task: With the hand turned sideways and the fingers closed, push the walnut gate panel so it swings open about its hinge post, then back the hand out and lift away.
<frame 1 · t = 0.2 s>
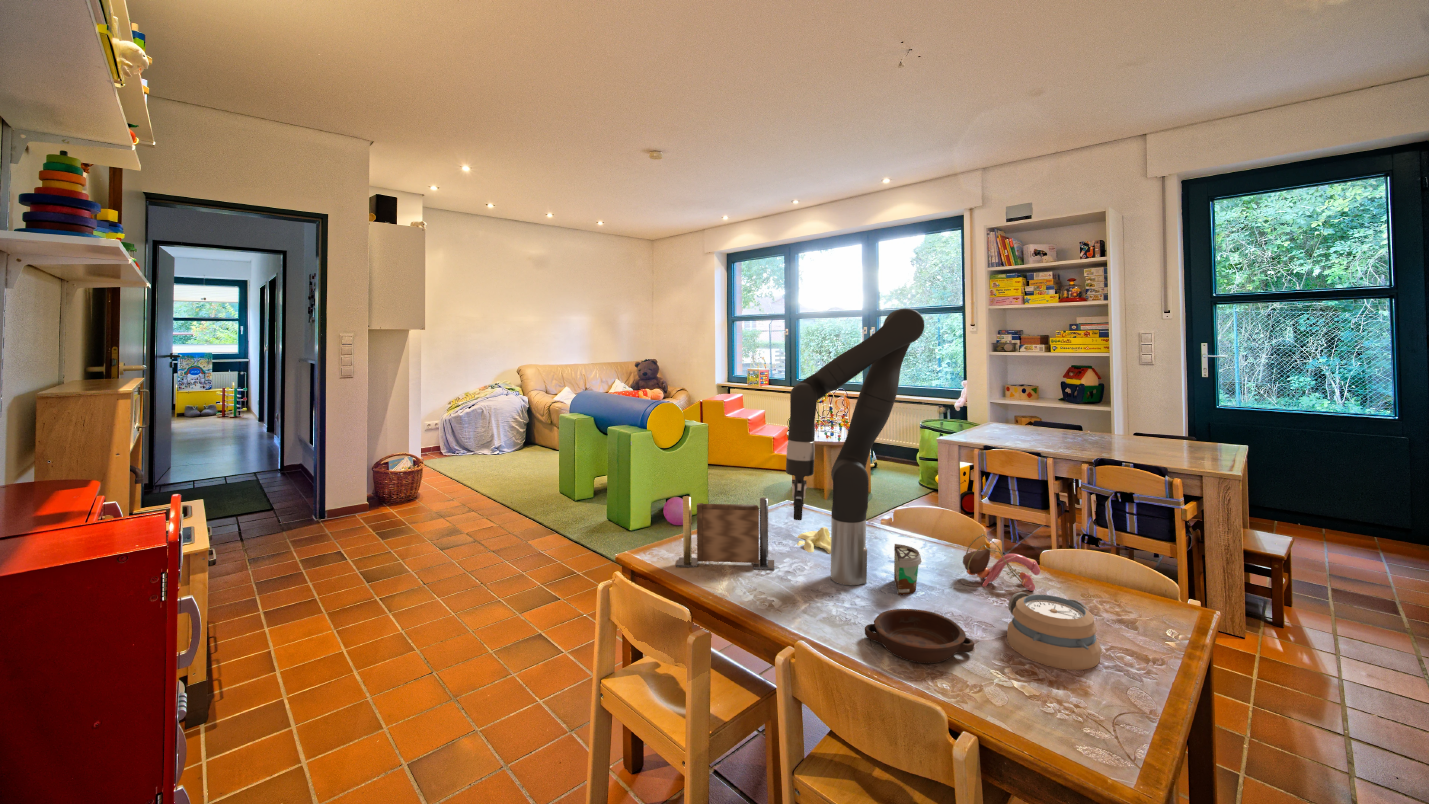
hand: (797, 515, 157), 18 cm above the table, tool pointing down, fingers open, 8 cm apart
cloth: (820, 546, 185), on the table
gate frame: (763, 565, 168), on the table
gate panel: (727, 532, 168), point 10 cm above the table, hinge at 0.0°
anatomy model: (999, 584, 154), on the table
alarm clock: (1049, 642, 125), on the table
dish: (917, 649, 123), on the table
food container: (908, 589, 152), on the table
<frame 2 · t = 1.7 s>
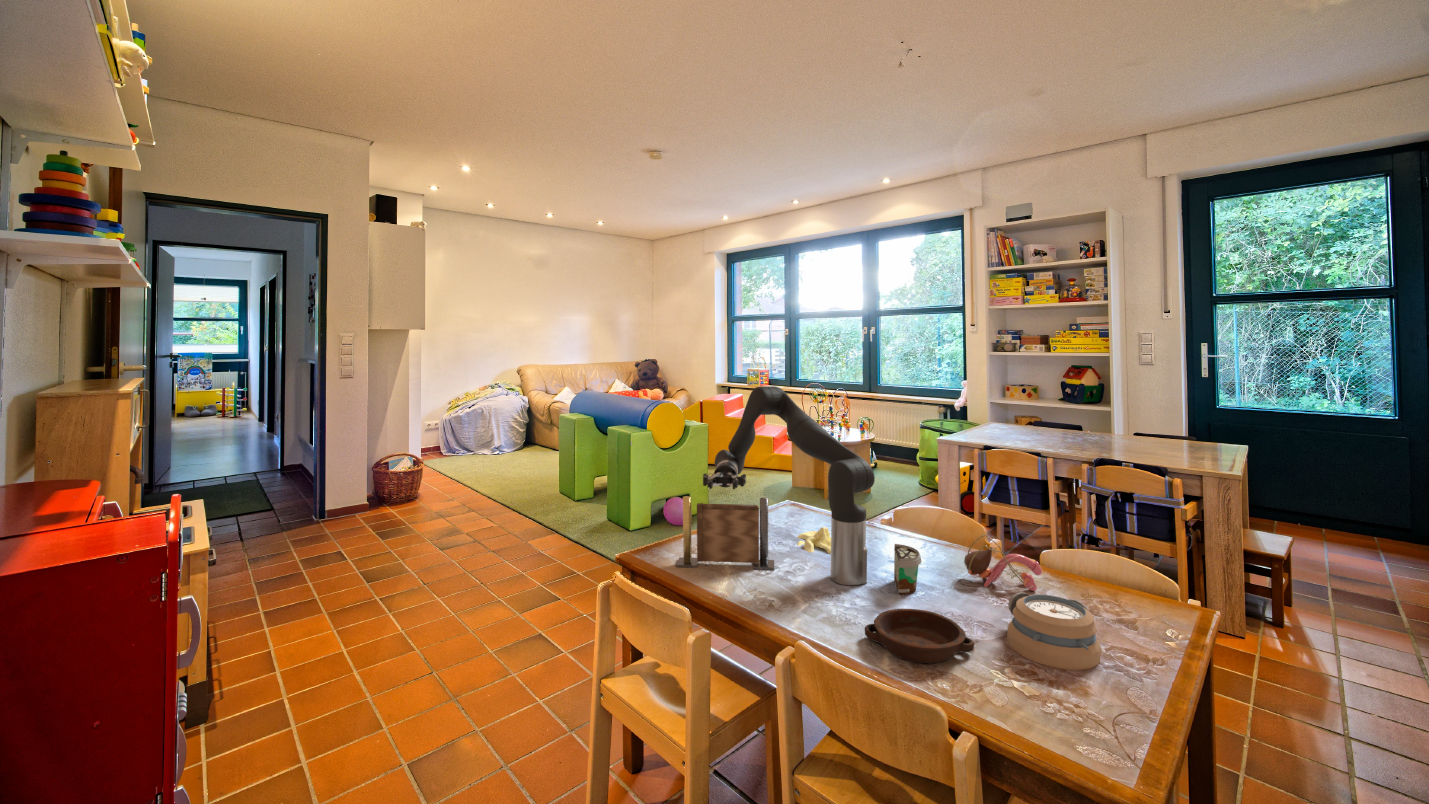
hand: (722, 485, 173), 22 cm above the table, tool horizontal, fingers open, 6 cm apart
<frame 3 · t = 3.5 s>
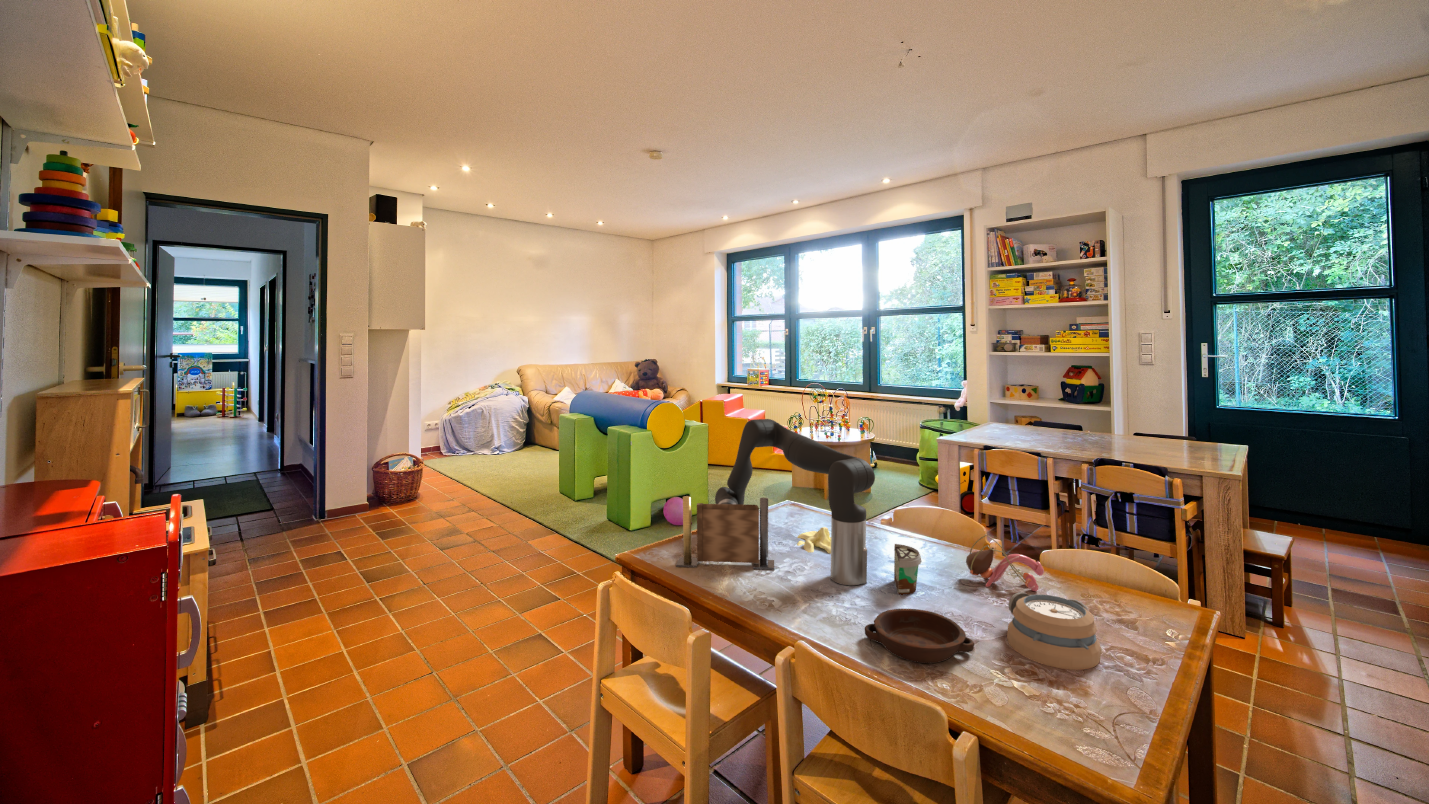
hand: (722, 530, 174), 9 cm above the table, tool horizontal, fingers closed
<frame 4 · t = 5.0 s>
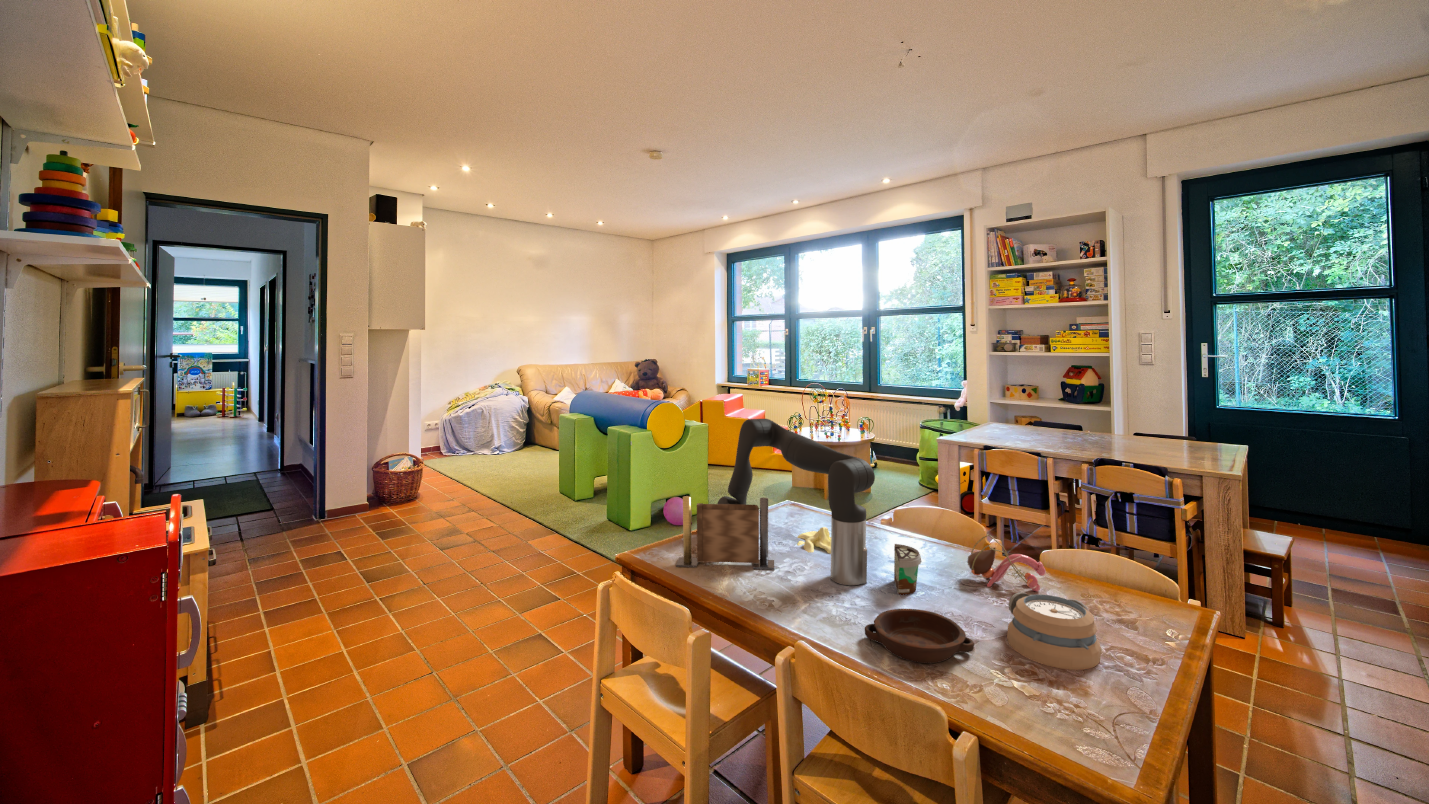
hand: (723, 540, 169), 7 cm above the table, tool horizontal, fingers closed
gate panel: (727, 532, 168), point 10 cm above the table, hinge at 0.4°, touching gripper
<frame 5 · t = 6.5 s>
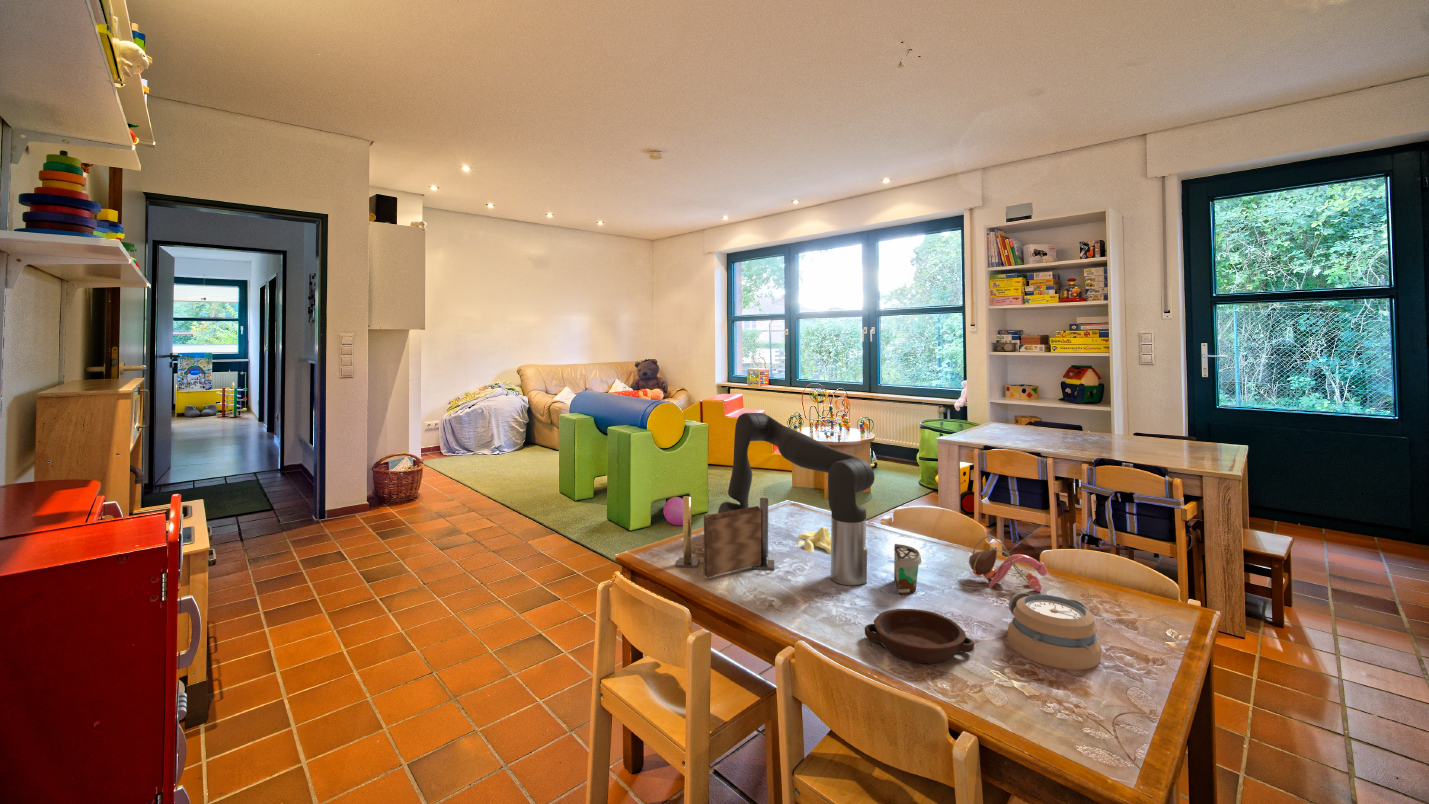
hand: (725, 549, 162), 7 cm above the table, tool horizontal, fingers closed
gate panel: (733, 540, 162), point 10 cm above the table, hinge at 36.2°, touching gripper
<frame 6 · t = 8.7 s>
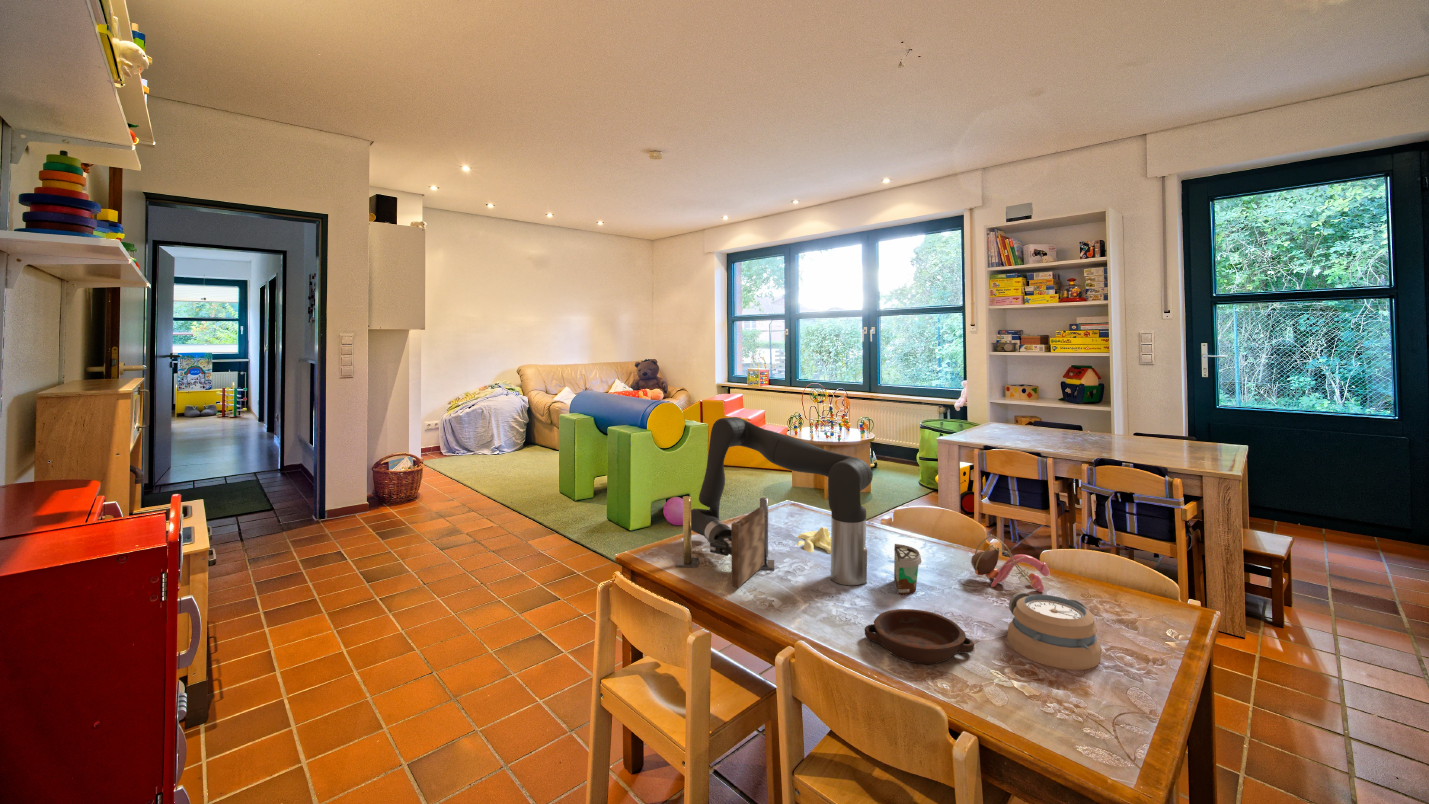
hand: (741, 555, 157), 7 cm above the table, tool horizontal, fingers closed
gate panel: (749, 544, 158), point 10 cm above the table, hinge at 67.8°, touching gripper
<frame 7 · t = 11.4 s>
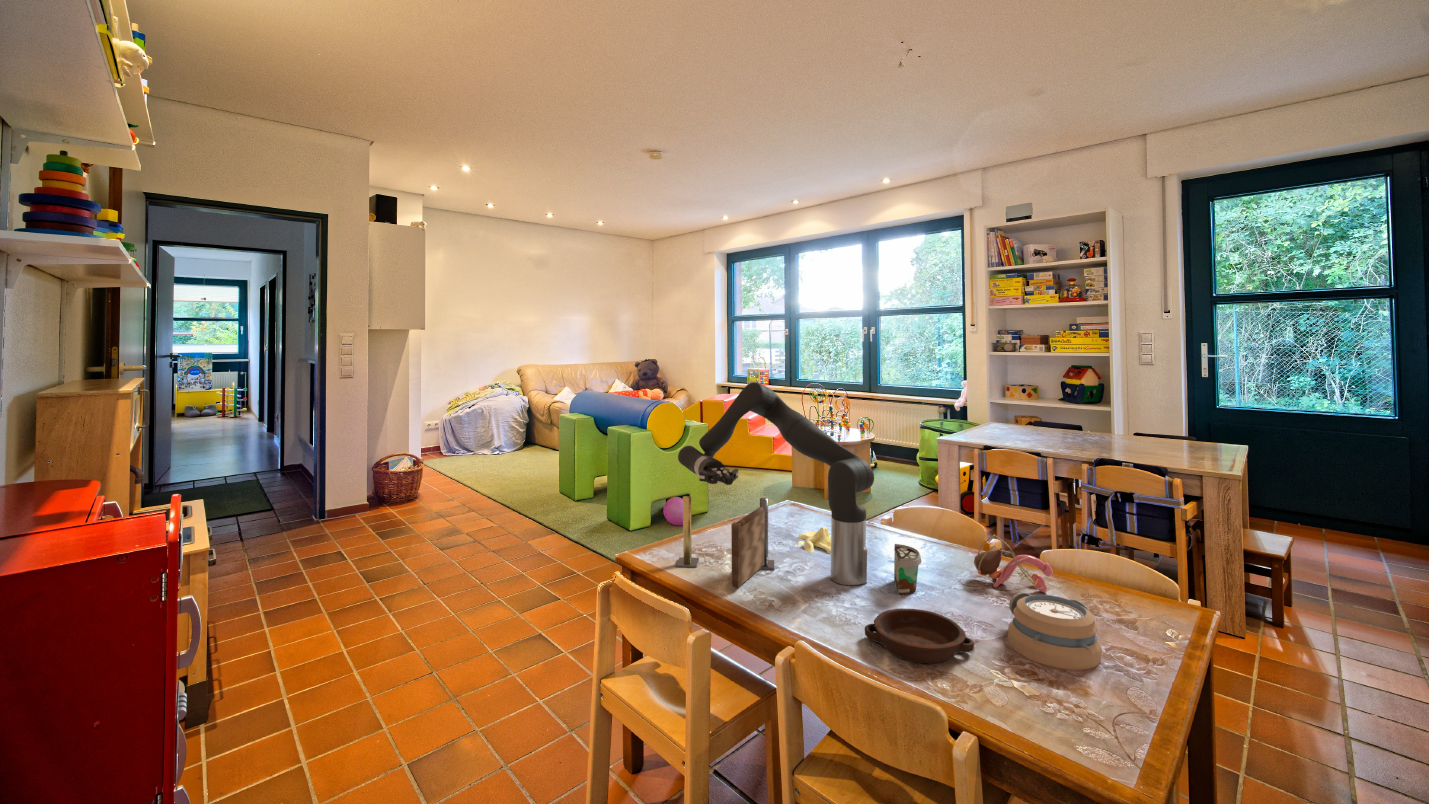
hand: (729, 481, 163), 26 cm above the table, tool horizontal, fingers closed
gate panel: (749, 544, 158), point 10 cm above the table, hinge at 67.8°
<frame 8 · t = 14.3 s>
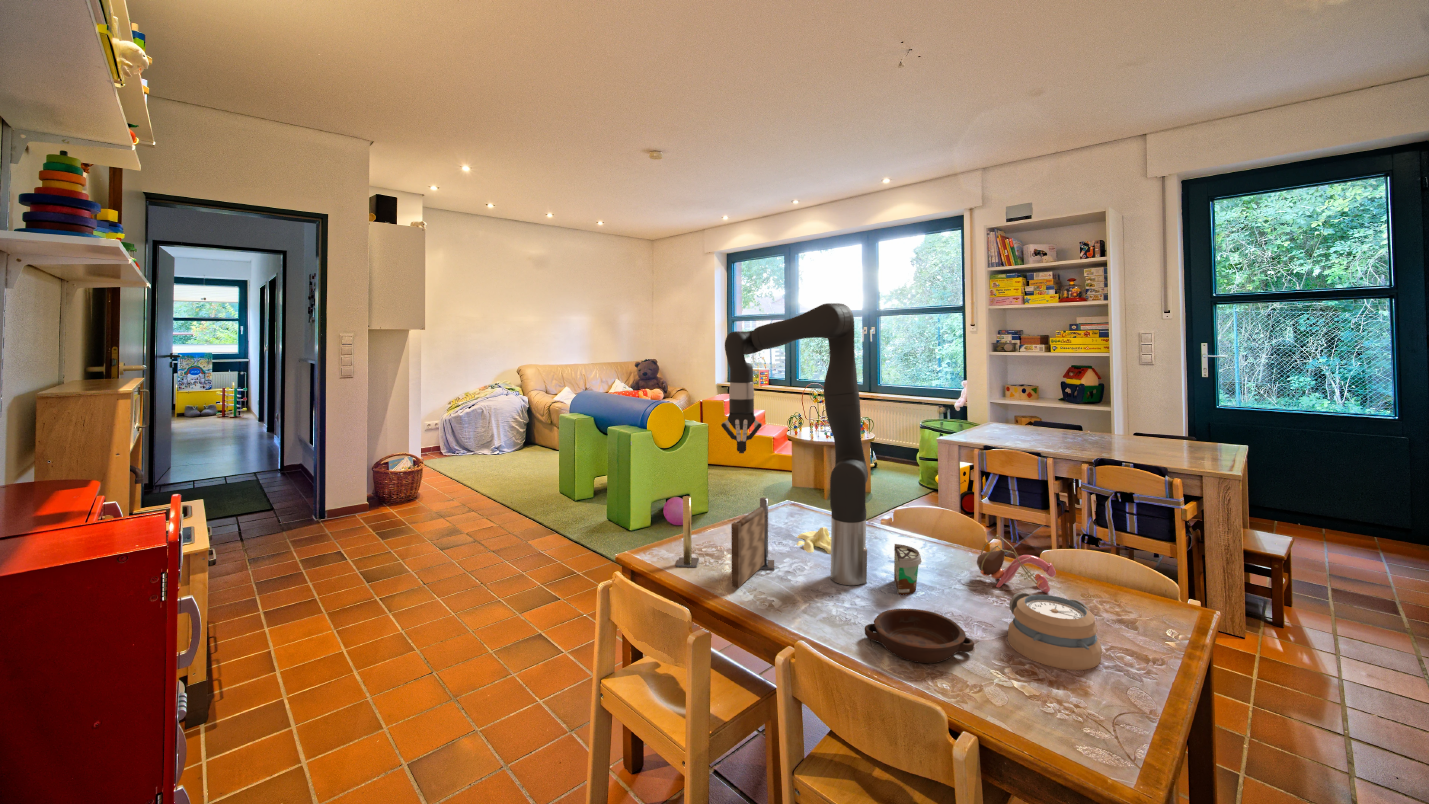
hand: (741, 452, 178), 31 cm above the table, tool pointing down, fingers closed
at the end: gate panel at +68° (first picture: +0°); anatomy model moved 3.7 cm from its start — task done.
